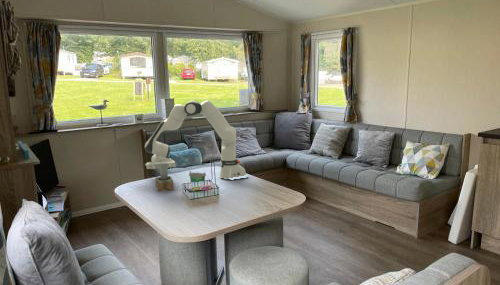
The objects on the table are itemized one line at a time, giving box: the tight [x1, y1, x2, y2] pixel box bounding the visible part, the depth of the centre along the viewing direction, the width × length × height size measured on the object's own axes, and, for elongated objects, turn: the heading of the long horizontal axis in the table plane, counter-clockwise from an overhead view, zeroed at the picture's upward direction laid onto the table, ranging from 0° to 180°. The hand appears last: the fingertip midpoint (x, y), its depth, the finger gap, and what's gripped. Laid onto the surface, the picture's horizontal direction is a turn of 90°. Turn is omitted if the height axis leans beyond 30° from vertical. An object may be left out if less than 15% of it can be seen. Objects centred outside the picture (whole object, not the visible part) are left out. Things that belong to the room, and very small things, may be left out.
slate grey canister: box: [159, 163, 169, 181], centre depth 253 cm, size 5×5×12 cm
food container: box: [188, 170, 207, 183], centre depth 257 cm, size 12×6×10 cm, turn 73°
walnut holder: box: [154, 175, 175, 192], centre depth 254 cm, size 10×14×6 cm
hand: (162, 167), depth 257 cm, fingers open, 8 cm apart
